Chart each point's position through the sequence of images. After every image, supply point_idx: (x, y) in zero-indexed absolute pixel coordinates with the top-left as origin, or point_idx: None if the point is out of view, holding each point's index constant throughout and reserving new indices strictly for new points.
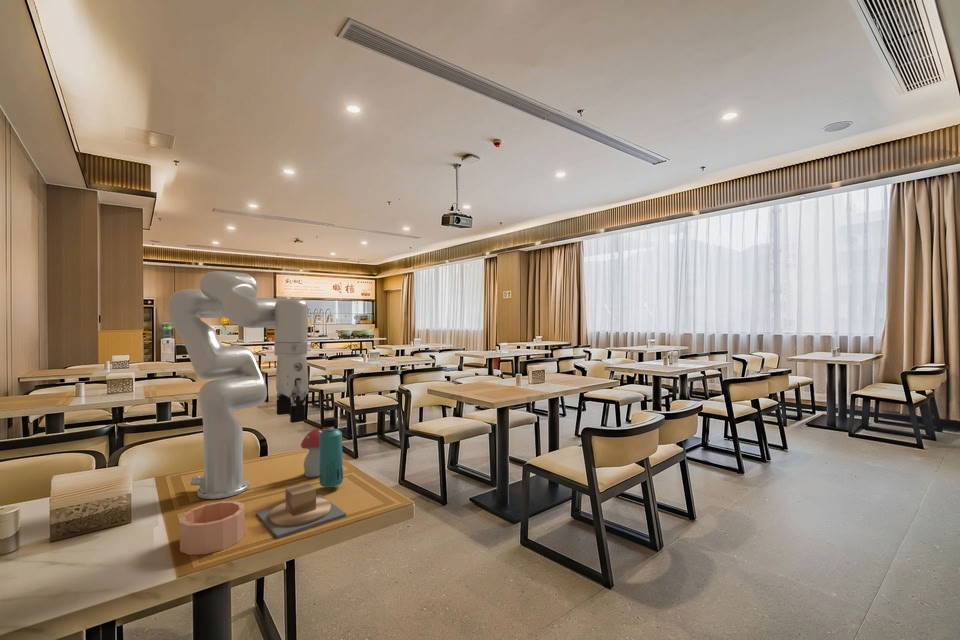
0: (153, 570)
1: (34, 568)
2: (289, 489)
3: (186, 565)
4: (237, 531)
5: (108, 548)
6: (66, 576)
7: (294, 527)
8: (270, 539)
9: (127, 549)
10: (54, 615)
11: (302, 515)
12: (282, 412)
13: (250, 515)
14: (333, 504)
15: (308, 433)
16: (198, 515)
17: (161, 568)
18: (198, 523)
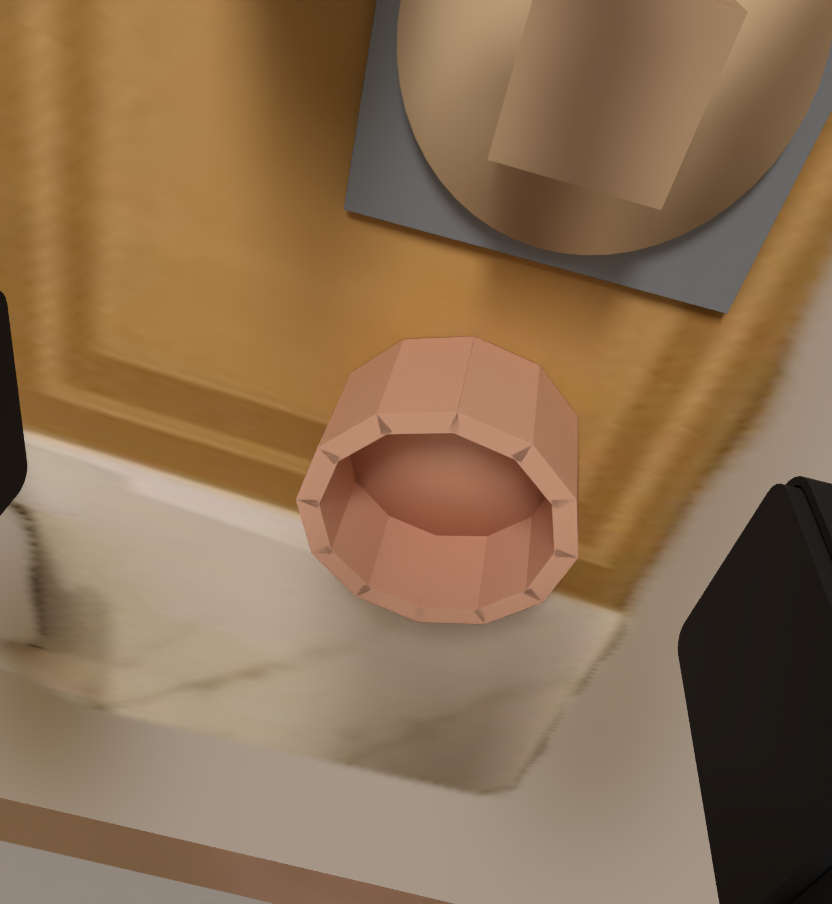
0: (501, 618)
1: (206, 707)
2: (541, 157)
3: (568, 570)
4: (576, 447)
5: (215, 608)
6: (324, 699)
7: (742, 207)
8: (697, 328)
9: (270, 592)
10: (518, 762)
11: (706, 118)
12: (2, 436)
13: (329, 226)
14: None
15: None
16: (335, 510)
17: None
18: (501, 602)
